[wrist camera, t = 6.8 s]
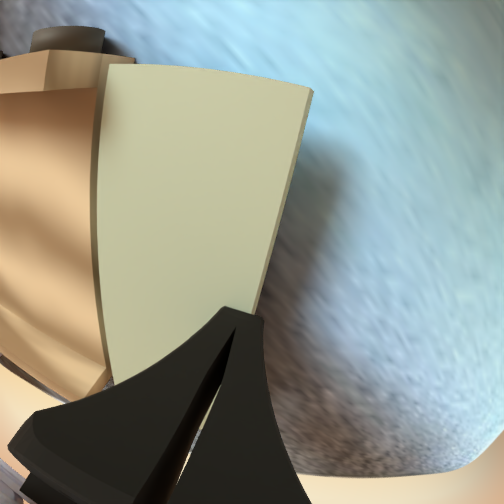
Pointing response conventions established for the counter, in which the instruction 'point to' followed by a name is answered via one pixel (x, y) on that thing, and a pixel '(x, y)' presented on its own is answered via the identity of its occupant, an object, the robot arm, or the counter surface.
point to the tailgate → (188, 200)
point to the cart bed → (53, 209)
